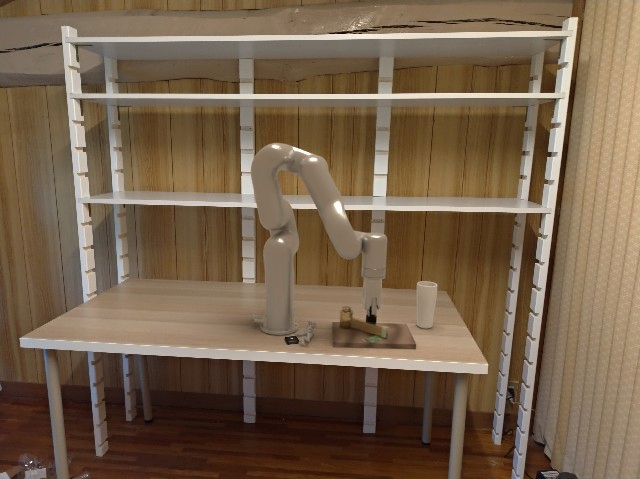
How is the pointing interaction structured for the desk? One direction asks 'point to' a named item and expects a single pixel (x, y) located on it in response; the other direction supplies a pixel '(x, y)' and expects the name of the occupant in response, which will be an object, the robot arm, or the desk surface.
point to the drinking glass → (426, 303)
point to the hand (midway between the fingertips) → (370, 327)
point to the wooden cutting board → (373, 337)
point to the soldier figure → (307, 333)
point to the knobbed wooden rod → (360, 323)
